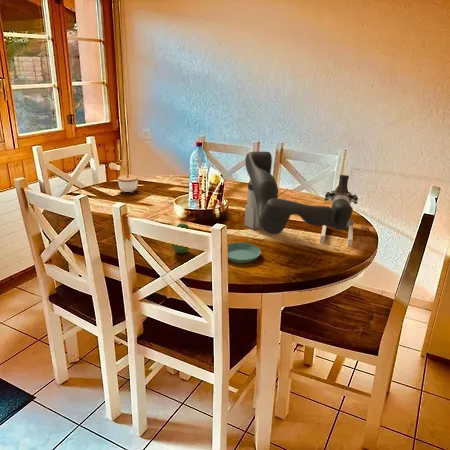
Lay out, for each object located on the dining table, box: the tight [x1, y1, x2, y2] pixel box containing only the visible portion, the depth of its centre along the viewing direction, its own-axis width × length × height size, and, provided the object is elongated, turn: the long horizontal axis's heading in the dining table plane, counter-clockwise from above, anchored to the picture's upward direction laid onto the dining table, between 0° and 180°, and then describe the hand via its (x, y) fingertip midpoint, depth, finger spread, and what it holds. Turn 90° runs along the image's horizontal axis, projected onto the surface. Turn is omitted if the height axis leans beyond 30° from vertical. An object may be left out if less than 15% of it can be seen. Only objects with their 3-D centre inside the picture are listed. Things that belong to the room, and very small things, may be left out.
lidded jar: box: [117, 174, 139, 193], centre depth 229 cm, size 11×11×9 cm
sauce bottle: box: [334, 174, 350, 194], centre depth 186 cm, size 6×6×20 cm
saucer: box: [227, 242, 262, 264], centre depth 157 cm, size 15×15×3 cm
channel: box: [319, 219, 355, 248], centre depth 177 cm, size 18×12×5 cm
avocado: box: [171, 222, 191, 255], centre depth 157 cm, size 8×8×12 cm
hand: (341, 193), depth 188 cm, fingers closed on sauce bottle, 6 cm apart
